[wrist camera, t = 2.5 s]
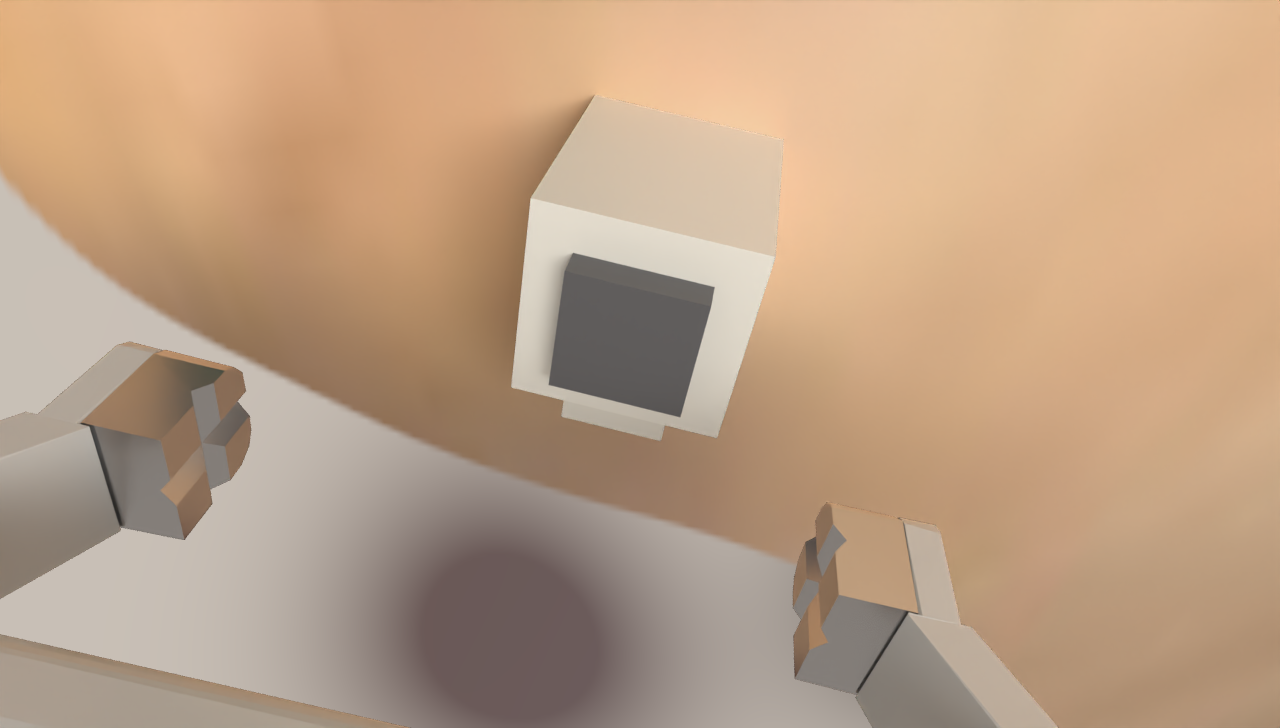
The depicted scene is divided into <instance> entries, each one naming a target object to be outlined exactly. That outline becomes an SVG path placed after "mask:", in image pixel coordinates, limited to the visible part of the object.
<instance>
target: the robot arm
mask: <svg viewBox="0 0 1280 728" xmlns="http://www.w3.org/2000/svg"><path fill="white" fill-rule="evenodd" d="M245 391H246V389H245V384H244V379H243V373H242V372H241V371H239V370H238V369H236V368H234V367H231V366H227V365H223V364H219V363H215V362H211V361H207V360H203V359H199V358H195V357H191V356H187V355H183V354H180V353H176V352H172V351H168V350H160V349H156V348H152V347H148V346H145V345H141V344H137V343H133V342H126V343H123V344H119V345H117V346H115V347H114V348H113V349H112V350H111V351H110V352H108V353H107V354H106V355H105V356H104V357H103V358H101V359H100V360H99V361H98V362H97V363H96V364H95V365H93V366H92V367H91V368H90V369H89V370H88V371H87V372H85V373H84V374H83V375H82V376H81V377H80V378H79V379H77V380H76V381H75V382H74V383H73V384H72V385H70V386H69V387H68V388H67V389H66V390H65V391H64V392H62V393H61V394H60V395H59V396H58V397H57V398H56V399H54V400H53V401H52V402H51V403H50V404H49V405H47V406H46V407H45V408H44V409H43V410H42V411H41V412H39V413H38V414H33V413H28V412H24V413H21V414H18V415H15V416H12V417H9V418H6V419H3V420H0V599H1V598H3V597H4V596H6V595H8V594H10V593H11V592H13V591H15V590H17V589H19V588H20V587H22V586H24V585H26V584H27V583H29V582H31V581H33V580H35V579H36V578H38V577H40V576H42V575H43V574H45V573H47V572H49V571H50V570H52V569H54V568H56V567H57V566H59V565H61V564H63V563H65V562H66V561H68V560H70V559H72V558H73V557H75V556H77V555H79V554H80V553H82V552H84V551H86V550H88V549H89V548H91V547H93V546H95V545H96V544H98V543H100V542H102V541H104V540H105V539H107V538H109V537H111V536H112V535H114V534H116V533H118V532H119V531H120V530H121V529H120V527H121V528H127V529H132V530H137V531H142V532H147V533H152V534H157V535H162V536H167V537H172V538H177V539H182V540H185V538H186V537H187V536H188V535H189V533H190V532H191V531H192V529H193V528H194V527H195V526H196V524H197V523H198V522H199V520H200V519H201V518H202V516H203V515H204V514H205V513H206V511H207V510H208V509H209V507H210V506H211V505H212V498H211V491H210V489H212V488H214V487H216V486H219V485H221V484H223V483H225V482H227V481H229V480H231V479H232V477H233V476H234V474H235V473H236V472H237V470H238V469H239V468H240V466H241V465H242V462H243V460H244V457H245V455H246V452H247V450H248V447H249V443H250V435H251V424H250V416H249V415H248V413H247V412H246V411H245V410H244V409H243V408H242V406H241V405H240V404H239V403H238V402H237V401H238V400H239V399H240V398H241V396H242V395H243V394H244V393H245ZM815 523H816V537H815V538H813V539H811V540H809V541H807V542H805V545H804V547H803V550H802V552H801V554H800V557H799V560H798V564H797V568H796V572H795V576H794V585H793V609H794V610H795V612H796V613H797V615H798V616H799V617H800V619H801V621H800V624H799V626H798V628H797V630H796V632H795V634H794V667H795V668H794V670H795V679H797V680H801V681H805V682H809V683H812V684H816V685H821V686H824V687H828V688H832V689H836V690H840V691H844V692H848V693H852V694H856V695H857V696H856V699H857V701H858V703H859V705H860V706H861V708H862V710H863V712H864V713H865V715H866V717H867V719H868V720H869V722H870V724H871V726H872V728H1058V726H1057V725H1056V724H1055V723H1054V722H1053V721H1052V719H1051V718H1050V717H1049V716H1048V715H1047V714H1046V712H1045V711H1044V710H1043V709H1042V708H1041V707H1040V706H1039V704H1038V703H1037V702H1036V701H1035V700H1034V699H1033V697H1032V696H1031V695H1030V694H1029V693H1028V692H1027V690H1026V689H1025V688H1024V687H1023V686H1022V685H1021V683H1020V682H1019V681H1018V680H1017V679H1016V678H1015V677H1014V675H1013V674H1012V673H1011V672H1010V671H1009V670H1008V668H1007V667H1006V666H1005V665H1004V664H1003V663H1002V661H1001V660H1000V659H999V658H998V657H997V656H996V654H995V653H994V652H993V651H992V650H991V649H990V647H989V646H988V645H987V644H986V643H985V642H984V641H983V639H982V638H981V637H980V636H979V635H978V634H977V632H976V631H975V630H974V629H973V628H972V627H969V626H965V625H961V622H960V617H959V613H958V608H957V604H956V599H955V595H954V590H953V586H952V581H951V577H950V572H949V568H948V564H947V559H946V555H945V550H944V546H943V541H942V537H941V532H940V530H939V529H938V528H937V526H936V525H933V524H928V523H924V522H919V521H914V520H909V519H905V518H900V517H899V518H896V517H894V516H889V515H885V514H880V513H876V512H871V511H866V510H862V509H857V508H853V507H848V506H844V505H839V504H834V503H830V502H826V503H825V505H824V506H823V507H822V508H821V510H820V512H819V514H818V516H817V518H816V520H815ZM0 728H409V727H405V726H400V725H396V724H392V723H387V722H383V721H378V720H374V719H370V718H365V717H361V716H357V715H352V714H348V713H343V712H339V711H335V710H330V709H326V708H321V707H317V706H313V705H308V704H304V703H299V702H295V701H291V700H286V699H282V698H278V697H273V696H268V695H265V694H260V693H256V692H251V691H247V690H243V689H238V688H234V687H229V686H225V685H221V684H216V683H212V682H207V681H203V680H198V679H194V678H189V677H185V676H181V675H177V674H172V673H168V672H163V671H159V670H154V669H150V668H146V667H142V666H137V665H133V664H128V663H124V662H120V661H115V660H111V659H106V658H102V657H97V656H93V655H89V654H84V653H80V652H76V651H71V650H66V649H62V648H58V647H53V646H49V645H45V644H41V643H36V642H31V641H27V640H23V639H19V638H14V637H9V636H5V635H1V634H0Z"/></svg>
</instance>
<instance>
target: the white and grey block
mask: <svg viewBox="0 0 1280 728" xmlns="http://www.w3.org/2000/svg"><path fill="white" fill-rule="evenodd" d="M783 144H784V139H780V138H776V137H772V136H767V135H763V134H759V133H755V132H750V131H746V130H742V129H738V128H734V127H729V126H725V125H721V124H717V123H713V122H708V121H704V120H700V119H696V118H691V117H687V116H683V115H679V114H675V113H670V112H666V111H662V110H658V109H654V108H649V107H645V106H641V105H637V104H632V103H628V102H624V101H620V100H616V99H611V98H607V97H603V96H599V95H595V96H594V98H593V99H592V101H591V102H590V104H589V106H588V107H587V109H586V110H585V112H584V114H583V115H582V117H581V118H580V120H579V122H578V123H577V125H576V126H575V128H574V130H573V131H572V133H571V134H570V136H569V138H568V139H567V141H566V142H565V144H564V146H563V147H562V149H561V150H560V152H559V154H558V155H557V157H556V158H555V160H554V162H553V163H552V165H551V166H550V168H549V170H548V171H547V173H546V174H545V176H544V178H543V179H542V181H541V182H540V184H539V186H538V187H537V189H536V190H535V192H534V194H533V195H532V197H531V200H530V209H529V219H528V229H527V238H526V248H525V258H524V267H523V277H522V287H521V296H520V306H519V316H518V325H517V335H516V345H515V355H514V364H513V374H512V384H511V388H515V389H519V390H523V391H527V392H531V393H535V394H540V395H544V396H548V397H552V398H556V399H560V400H564V402H563V409H562V415H561V417H565V418H569V419H573V420H577V421H581V422H585V423H589V424H593V425H597V426H601V427H605V428H609V429H613V430H617V431H621V432H625V433H629V434H633V435H638V436H642V437H646V438H650V439H654V440H658V441H661V439H662V435H663V431H664V428H665V426H669V427H673V428H677V429H681V430H685V431H689V432H693V433H698V434H702V435H706V436H710V437H714V438H717V437H718V434H719V431H720V428H721V425H722V422H723V419H724V415H725V412H726V409H727V406H728V403H729V400H730V397H731V394H732V391H733V388H734V384H735V381H736V378H737V375H738V372H739V369H740V366H741V363H742V360H743V357H744V353H745V350H746V347H747V344H748V341H749V338H750V335H751V332H752V329H753V326H754V323H755V319H756V316H757V313H758V310H759V307H760V304H761V301H762V298H763V295H764V292H765V288H766V285H767V282H768V279H769V276H770V273H771V270H772V267H773V264H774V261H775V258H776V245H777V230H778V216H779V202H780V187H781V173H782V159H783Z"/></svg>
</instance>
